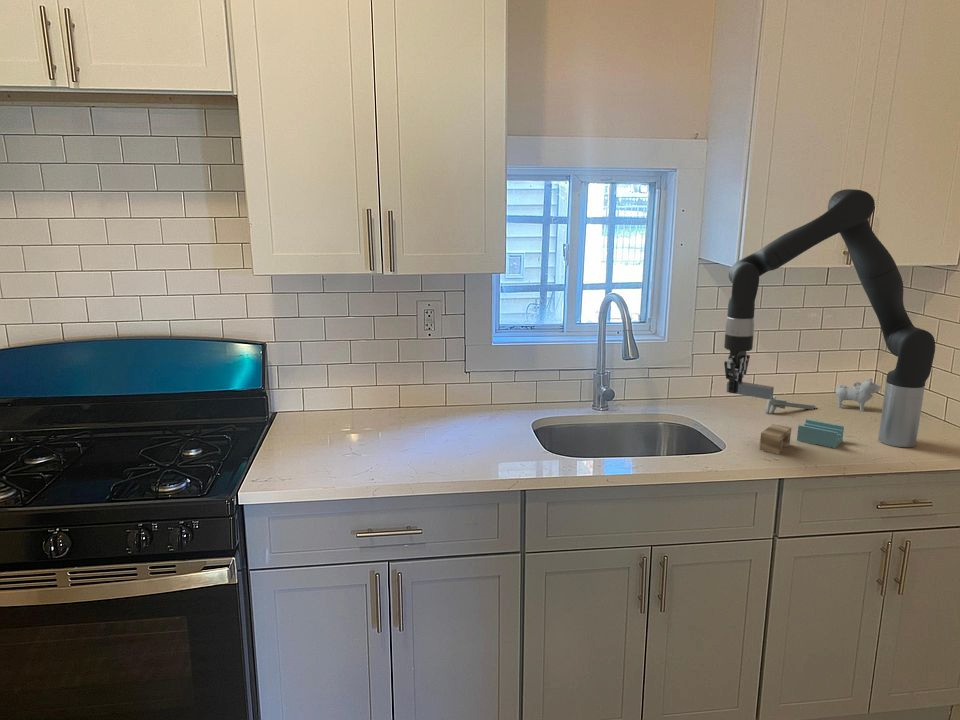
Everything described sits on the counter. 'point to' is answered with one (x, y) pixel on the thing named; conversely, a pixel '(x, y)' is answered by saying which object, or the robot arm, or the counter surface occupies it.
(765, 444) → the bore block
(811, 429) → the block
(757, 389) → the metal bar
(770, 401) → the caliper
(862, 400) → the dog figurine
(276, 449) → the counter surface
